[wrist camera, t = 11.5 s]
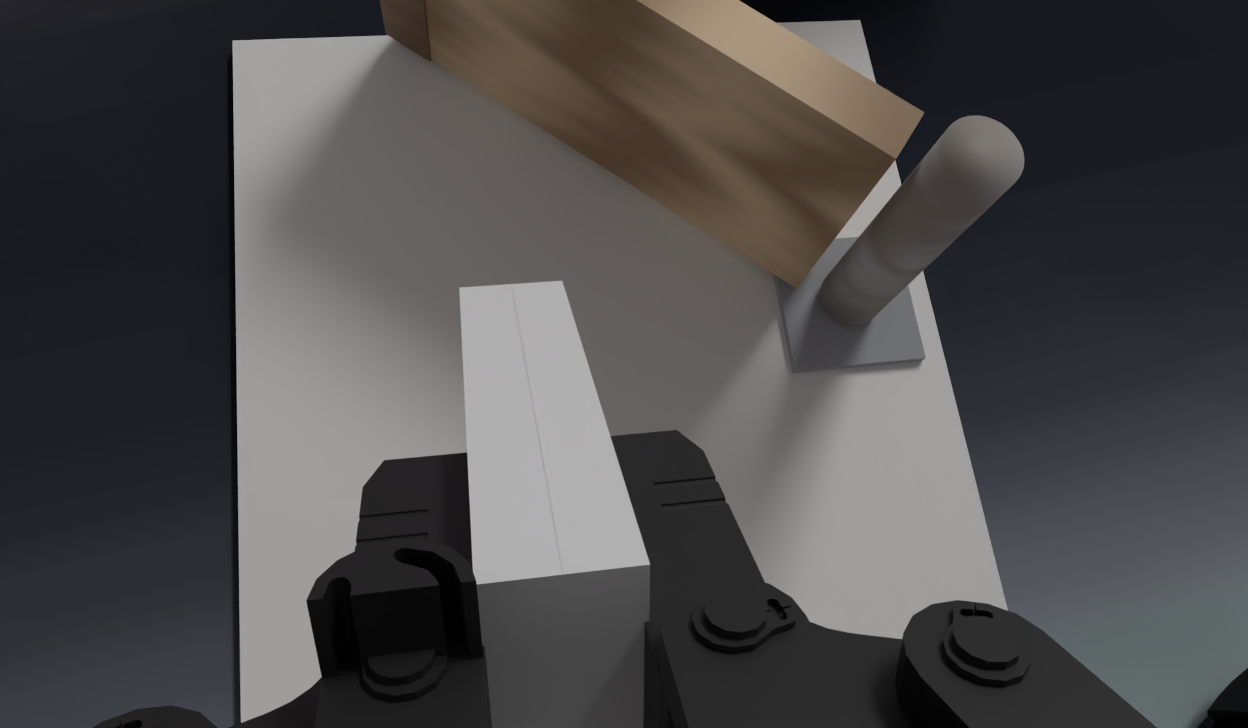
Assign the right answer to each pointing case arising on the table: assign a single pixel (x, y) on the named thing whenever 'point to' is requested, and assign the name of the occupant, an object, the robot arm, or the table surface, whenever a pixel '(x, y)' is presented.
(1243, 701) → the end cap
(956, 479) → the base
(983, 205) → the gate
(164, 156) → the table surface
